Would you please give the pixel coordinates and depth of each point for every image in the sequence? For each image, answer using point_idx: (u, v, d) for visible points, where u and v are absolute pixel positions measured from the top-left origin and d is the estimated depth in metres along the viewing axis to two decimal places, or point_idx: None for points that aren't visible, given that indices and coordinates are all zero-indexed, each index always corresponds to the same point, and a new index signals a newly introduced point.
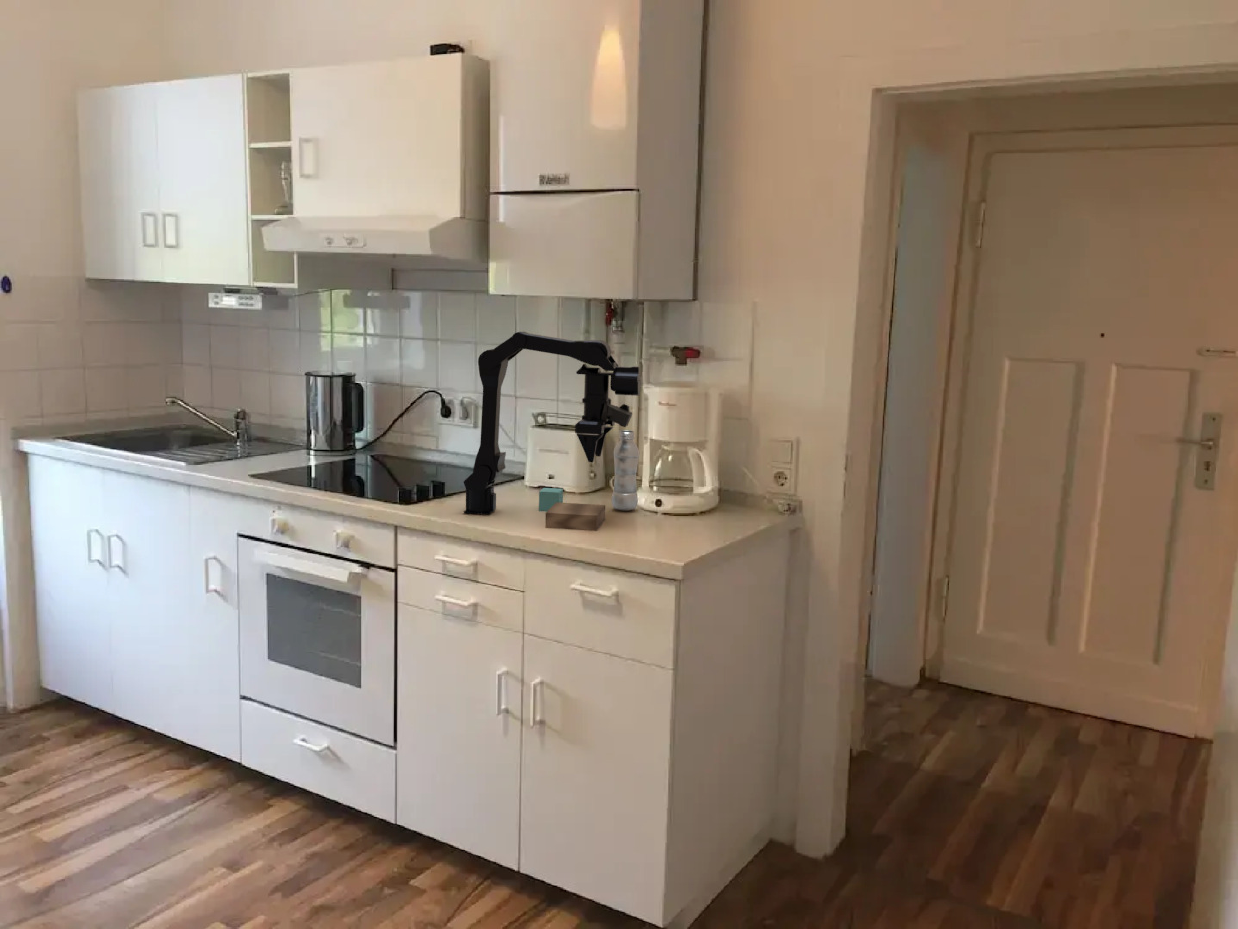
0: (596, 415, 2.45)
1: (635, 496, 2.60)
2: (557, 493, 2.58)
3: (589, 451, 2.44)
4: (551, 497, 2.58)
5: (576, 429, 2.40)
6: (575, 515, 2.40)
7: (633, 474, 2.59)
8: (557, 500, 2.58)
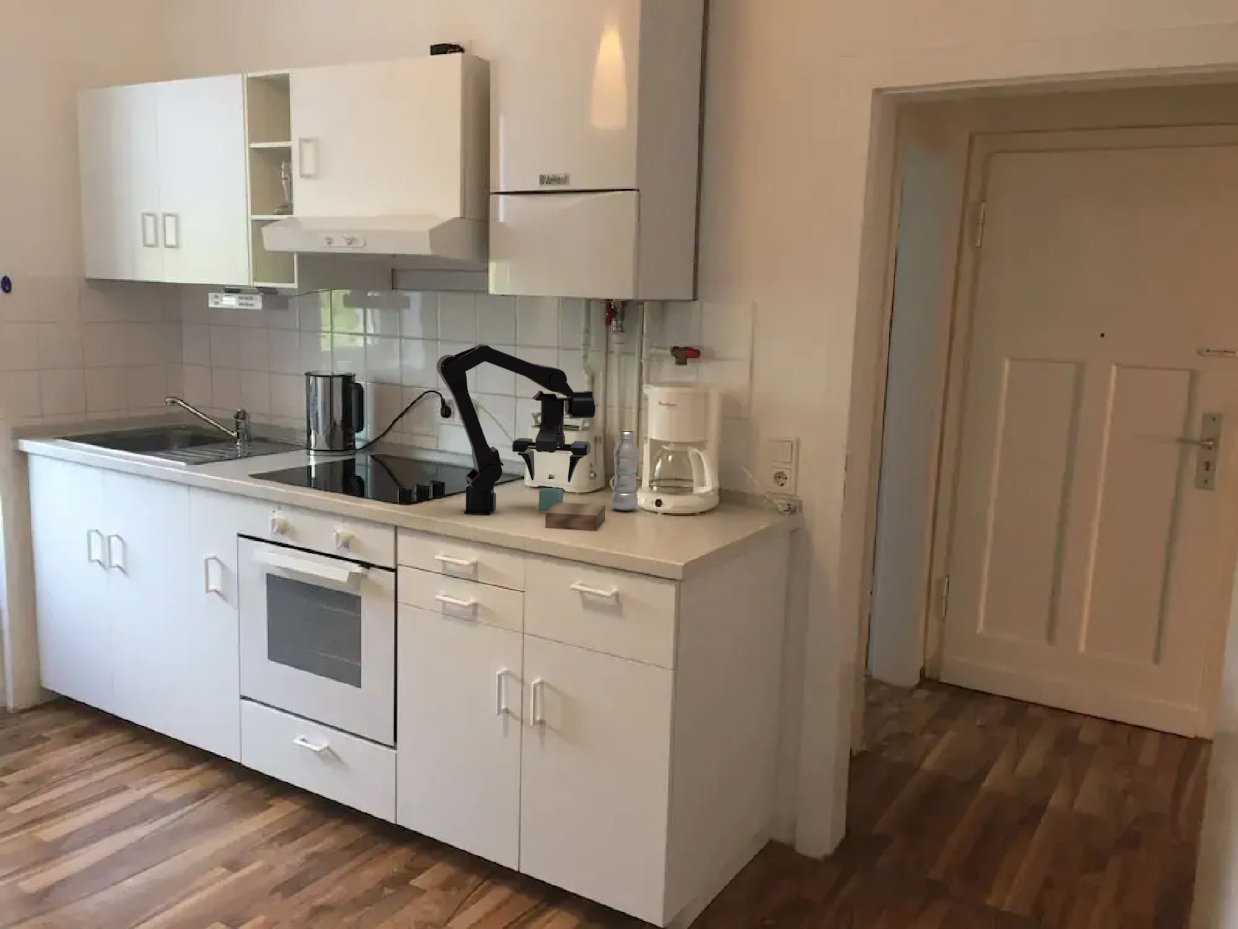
0: None
1: (635, 496, 2.60)
2: (557, 493, 2.58)
3: None
4: (551, 497, 2.58)
5: None
6: (575, 515, 2.40)
7: (633, 474, 2.59)
8: (557, 500, 2.58)
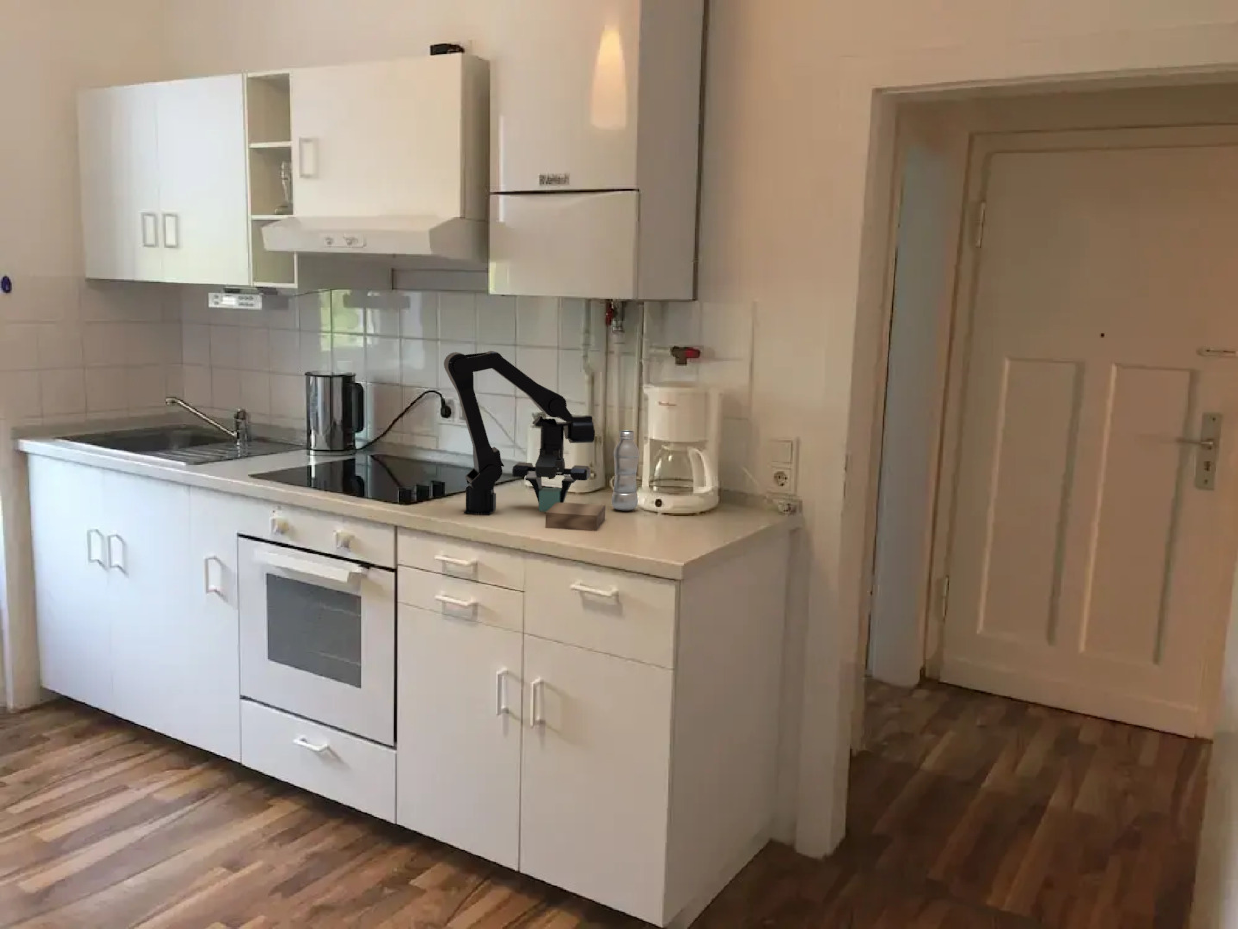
0: None
1: (635, 496, 2.60)
2: (557, 493, 2.58)
3: None
4: (551, 497, 2.58)
5: None
6: (575, 515, 2.40)
7: (633, 474, 2.59)
8: (557, 500, 2.58)
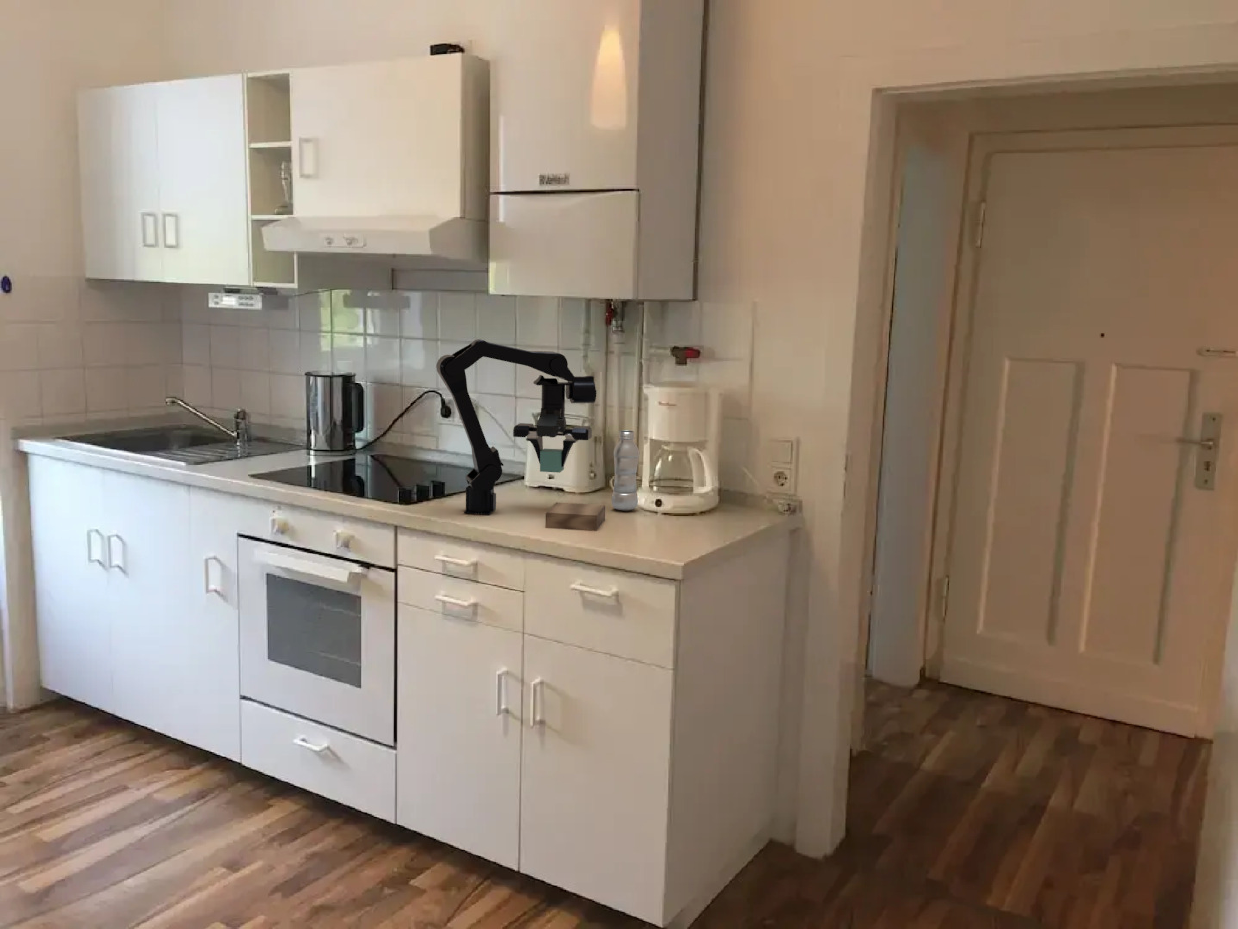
0: None
1: (635, 496, 2.60)
2: (558, 453, 2.56)
3: None
4: (552, 457, 2.56)
5: None
6: (575, 515, 2.40)
7: (633, 474, 2.59)
8: (558, 460, 2.56)
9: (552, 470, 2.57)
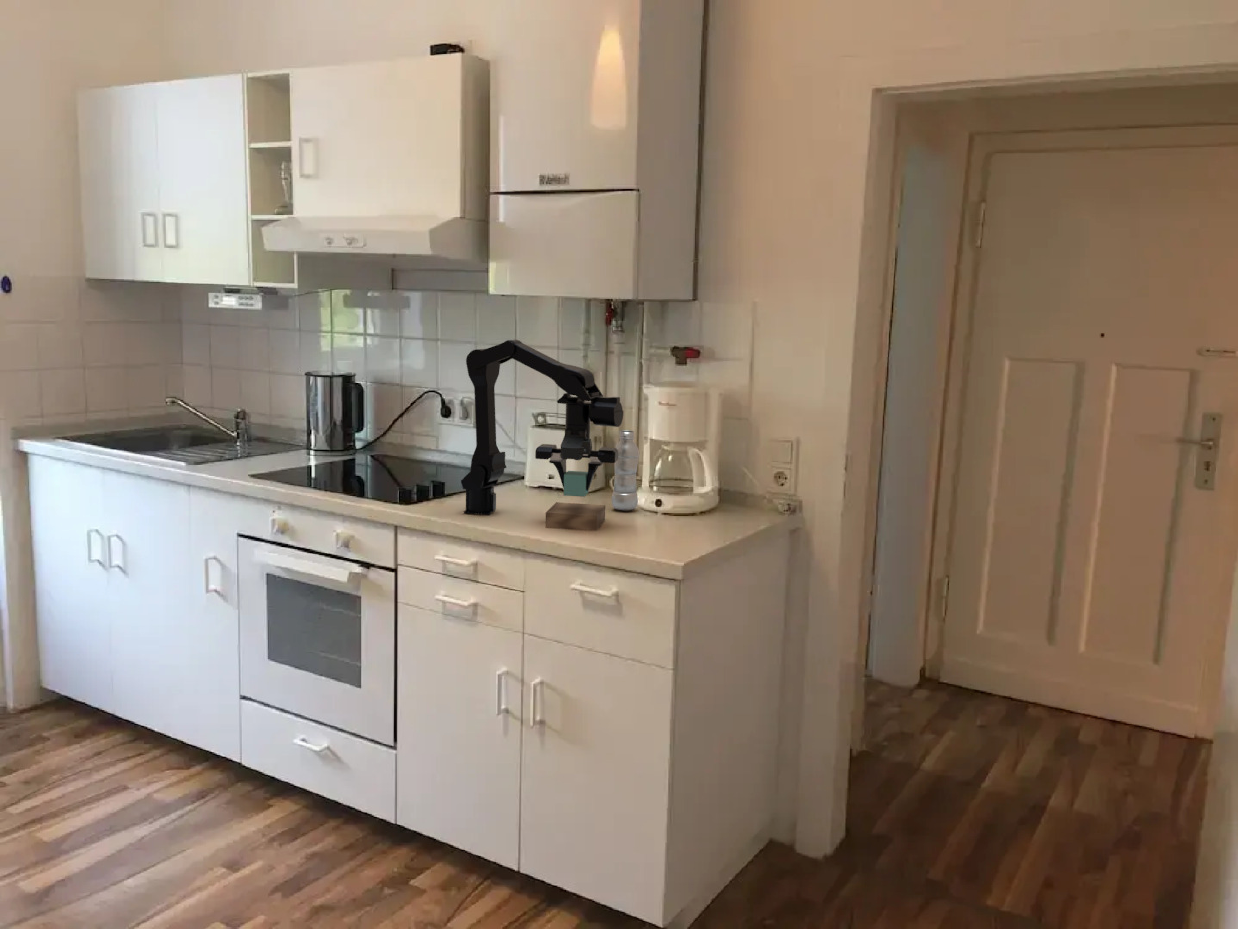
0: None
1: (635, 496, 2.60)
2: (583, 476, 2.42)
3: None
4: (577, 480, 2.42)
5: None
6: (575, 515, 2.40)
7: (633, 474, 2.59)
8: (583, 483, 2.42)
9: (576, 494, 2.43)
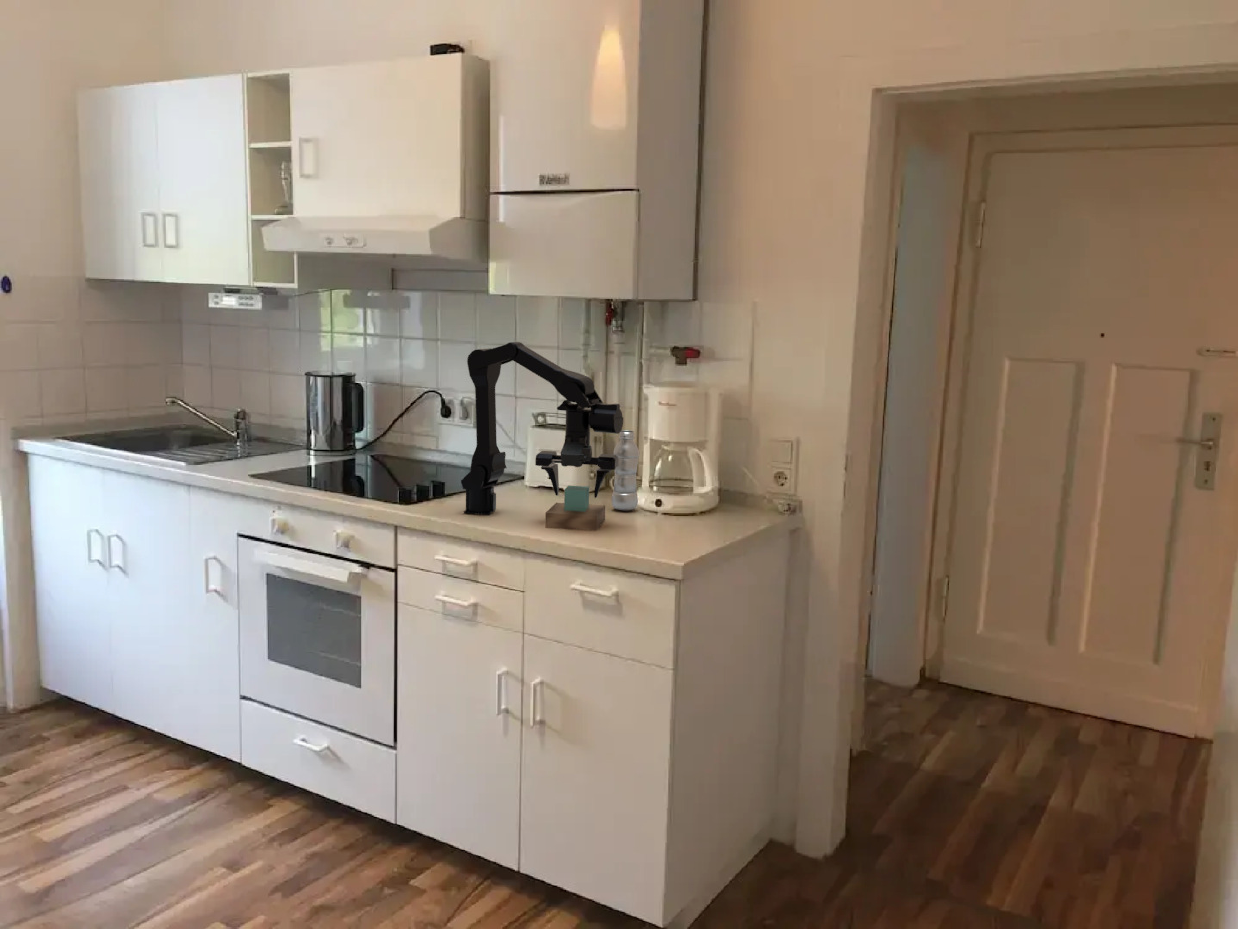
0: None
1: (635, 496, 2.60)
2: (584, 491, 2.42)
3: None
4: (577, 495, 2.43)
5: None
6: (575, 515, 2.40)
7: (633, 474, 2.59)
8: (584, 498, 2.43)
9: (577, 509, 2.43)
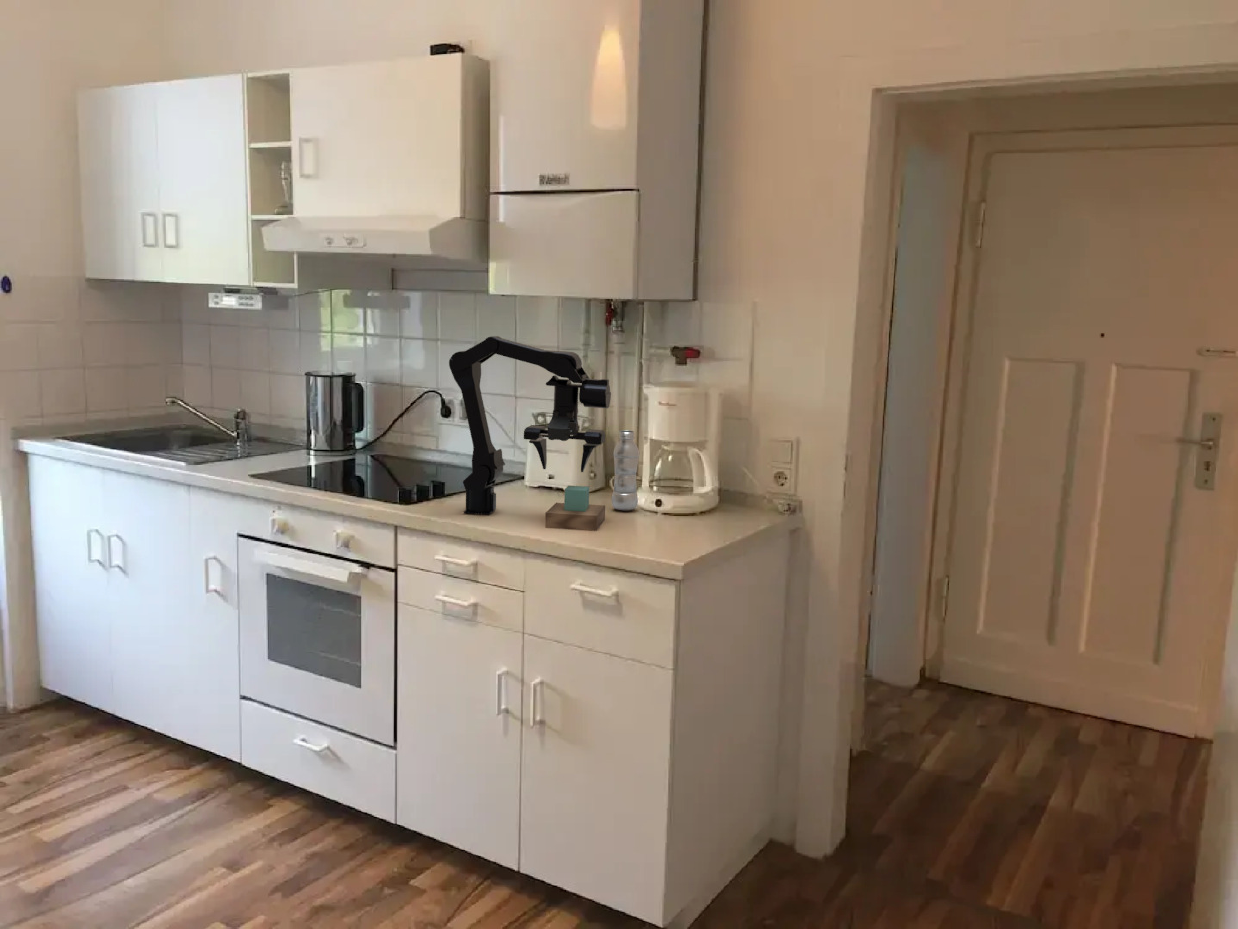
0: None
1: (635, 496, 2.60)
2: (584, 491, 2.42)
3: None
4: (578, 495, 2.43)
5: None
6: (575, 515, 2.40)
7: (633, 474, 2.59)
8: (584, 498, 2.43)
9: (577, 509, 2.43)
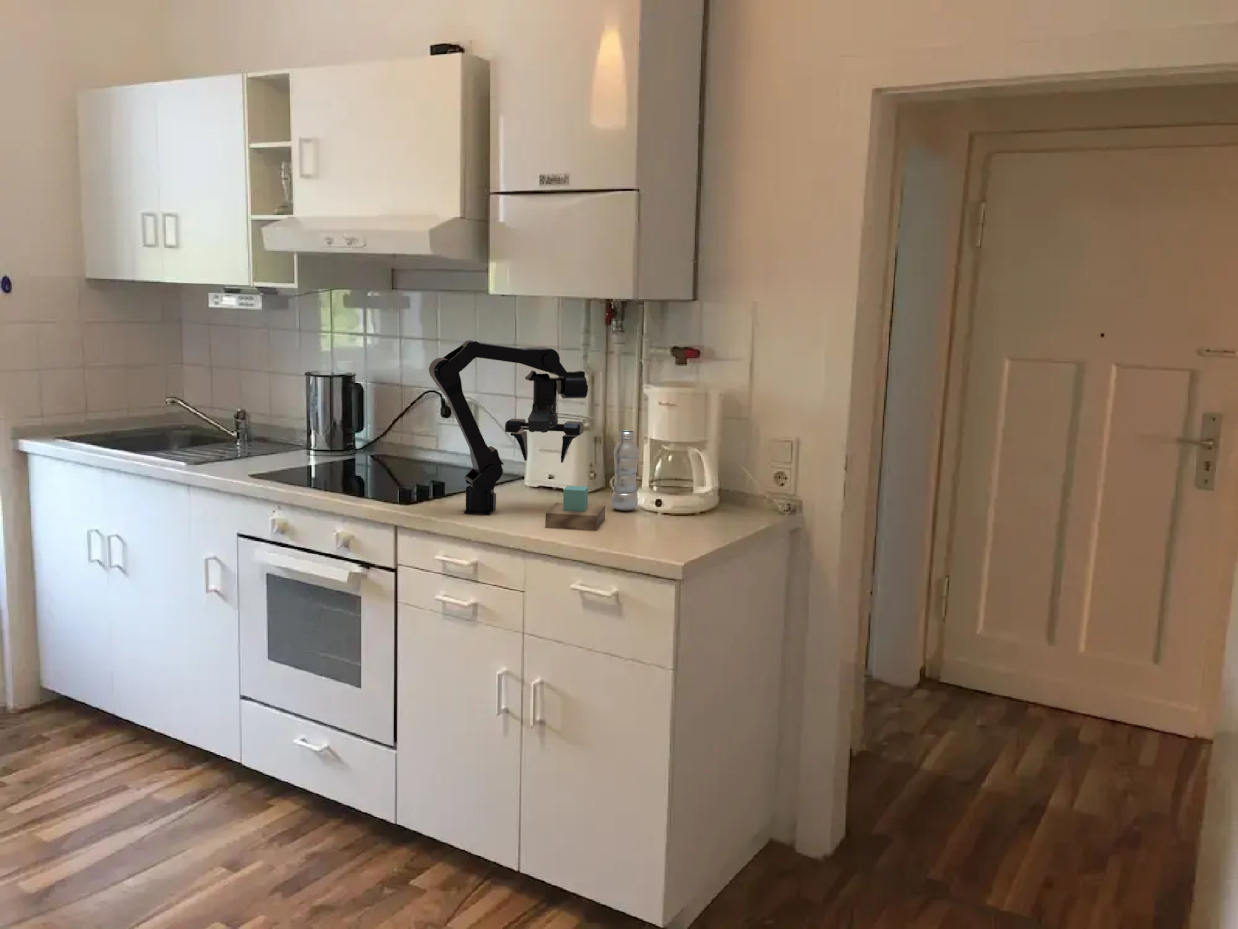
0: None
1: (635, 496, 2.60)
2: (583, 491, 2.42)
3: None
4: (576, 495, 2.43)
5: None
6: (575, 515, 2.40)
7: (633, 474, 2.59)
8: (583, 498, 2.43)
9: (576, 509, 2.43)
